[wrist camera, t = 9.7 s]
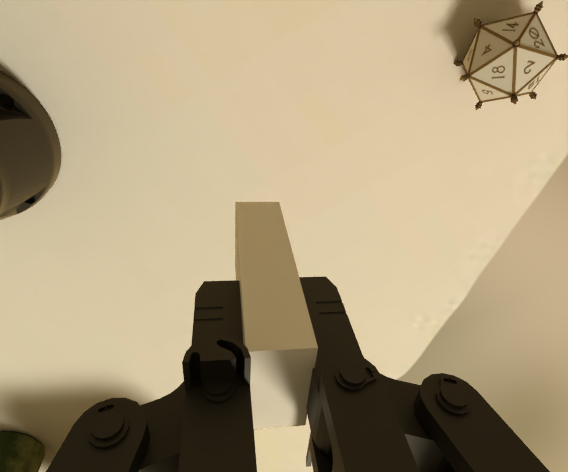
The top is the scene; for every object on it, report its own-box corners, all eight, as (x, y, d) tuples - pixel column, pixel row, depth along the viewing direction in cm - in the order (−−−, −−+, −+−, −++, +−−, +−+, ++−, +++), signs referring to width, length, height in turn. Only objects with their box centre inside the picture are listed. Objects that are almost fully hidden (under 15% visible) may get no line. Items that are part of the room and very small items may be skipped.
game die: (449, 42, 43) (455, -1, 33) (540, 19, 40) (576, -34, 30) (457, 126, 43) (465, 107, 34) (547, 110, 40) (584, 85, 31)
